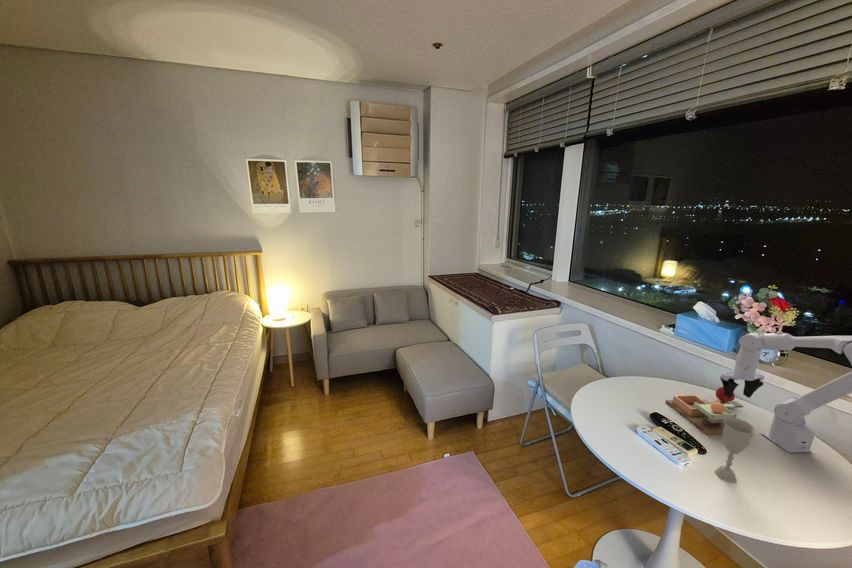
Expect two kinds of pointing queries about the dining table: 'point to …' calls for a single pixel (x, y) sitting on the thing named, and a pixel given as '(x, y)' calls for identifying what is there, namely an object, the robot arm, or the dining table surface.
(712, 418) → the tipping tray
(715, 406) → the ball
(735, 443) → the chalice
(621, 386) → the dining table surface
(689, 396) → the orange open box
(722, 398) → the onion
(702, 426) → the base board
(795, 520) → the dining table surface
